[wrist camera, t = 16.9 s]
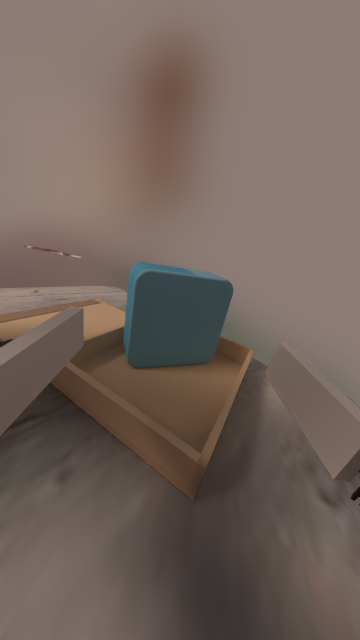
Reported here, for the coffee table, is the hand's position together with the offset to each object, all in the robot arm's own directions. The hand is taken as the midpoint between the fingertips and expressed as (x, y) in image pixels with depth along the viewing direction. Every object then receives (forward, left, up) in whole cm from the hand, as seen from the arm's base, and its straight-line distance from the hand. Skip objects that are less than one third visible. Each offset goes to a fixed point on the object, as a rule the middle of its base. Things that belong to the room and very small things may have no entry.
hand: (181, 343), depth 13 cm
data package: (-6, +10, -9) cm, 14 cm away
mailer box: (-13, +7, -10) cm, 18 cm away
